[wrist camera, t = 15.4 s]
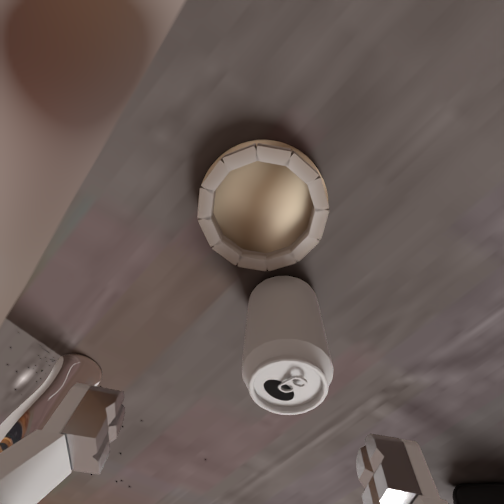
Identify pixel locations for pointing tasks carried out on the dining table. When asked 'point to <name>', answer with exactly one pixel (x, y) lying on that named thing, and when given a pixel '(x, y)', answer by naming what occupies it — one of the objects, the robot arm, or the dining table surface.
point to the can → (286, 347)
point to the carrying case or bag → (479, 494)
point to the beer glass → (48, 397)
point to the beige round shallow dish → (263, 205)
